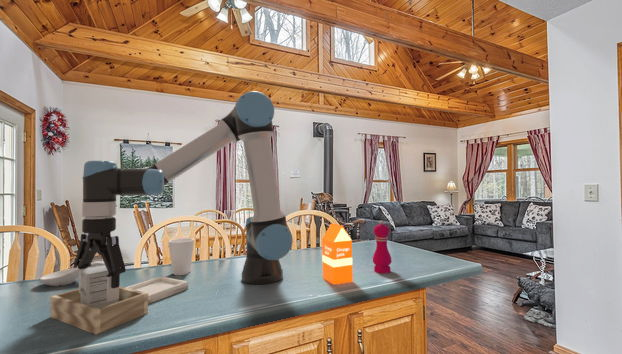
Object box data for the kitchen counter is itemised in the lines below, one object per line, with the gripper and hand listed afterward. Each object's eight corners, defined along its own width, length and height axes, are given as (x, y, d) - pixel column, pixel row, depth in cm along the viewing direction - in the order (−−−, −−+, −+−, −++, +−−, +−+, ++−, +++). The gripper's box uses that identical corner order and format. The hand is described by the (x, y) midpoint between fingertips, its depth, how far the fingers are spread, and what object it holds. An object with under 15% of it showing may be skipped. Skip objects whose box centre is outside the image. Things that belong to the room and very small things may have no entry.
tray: (188, 288, 101) (188, 281, 101) (149, 303, 89) (149, 295, 89) (161, 283, 108) (161, 276, 108) (121, 296, 95) (121, 288, 95)
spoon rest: (32, 291, 102) (32, 270, 102) (50, 280, 113) (51, 261, 114) (112, 283, 109) (112, 263, 109) (122, 274, 120) (122, 256, 120)
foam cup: (198, 269, 124) (198, 238, 125) (186, 276, 115) (186, 242, 116) (176, 269, 125) (176, 238, 126) (163, 276, 116) (163, 242, 116)
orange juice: (333, 285, 103) (332, 226, 103) (322, 277, 111) (321, 223, 111) (353, 281, 106) (352, 225, 107) (340, 274, 114) (339, 222, 115)
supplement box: (79, 315, 81) (79, 268, 82) (111, 307, 87) (111, 263, 87) (85, 324, 76) (85, 274, 77) (119, 314, 82) (119, 268, 82)
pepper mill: (394, 270, 119) (393, 219, 120) (388, 275, 113) (387, 221, 114) (376, 267, 123) (375, 218, 124) (370, 272, 117) (369, 220, 117)
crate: (147, 313, 82) (147, 293, 82) (95, 334, 71) (95, 311, 71) (102, 300, 92) (102, 282, 92) (50, 316, 81) (50, 296, 81)
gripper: (141, 218, 80) (140, 298, 79) (90, 214, 91) (88, 284, 91) (111, 221, 73) (110, 309, 72) (60, 216, 85) (58, 292, 84)
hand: (98, 295), depth 82 cm, fingers open, 13 cm apart
